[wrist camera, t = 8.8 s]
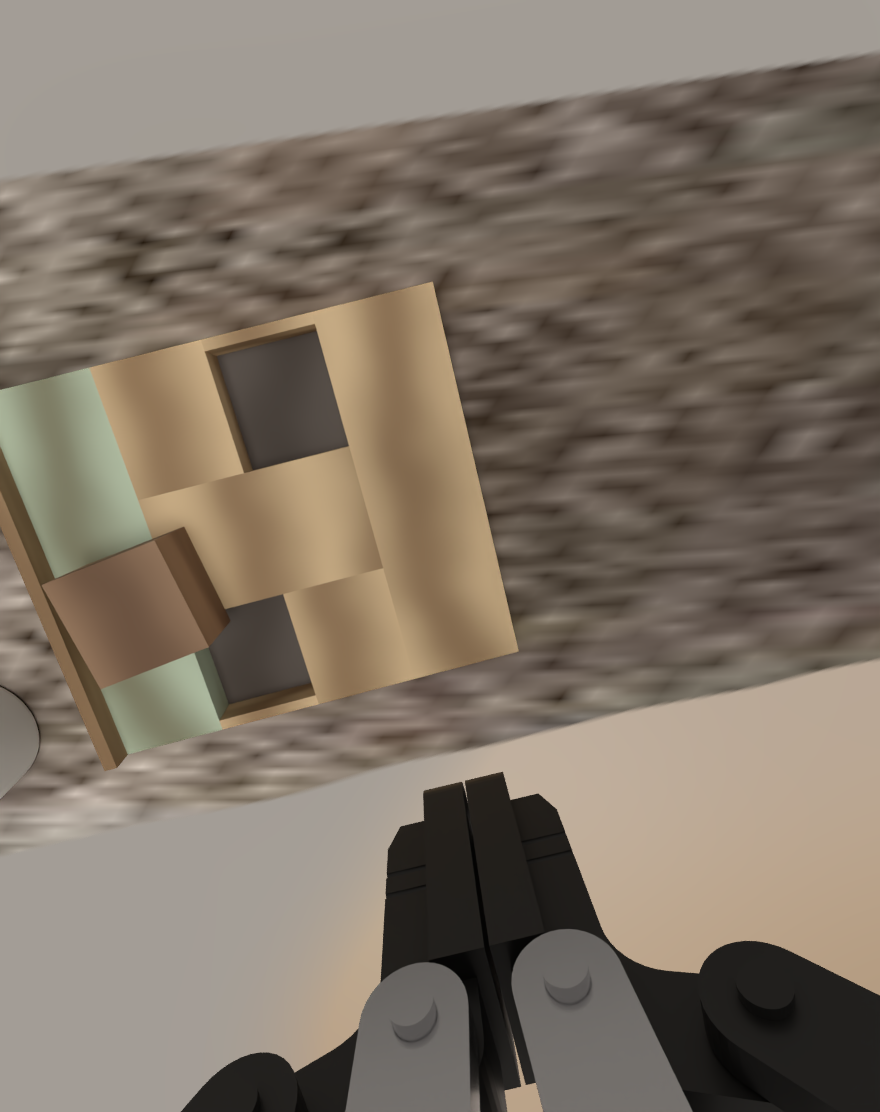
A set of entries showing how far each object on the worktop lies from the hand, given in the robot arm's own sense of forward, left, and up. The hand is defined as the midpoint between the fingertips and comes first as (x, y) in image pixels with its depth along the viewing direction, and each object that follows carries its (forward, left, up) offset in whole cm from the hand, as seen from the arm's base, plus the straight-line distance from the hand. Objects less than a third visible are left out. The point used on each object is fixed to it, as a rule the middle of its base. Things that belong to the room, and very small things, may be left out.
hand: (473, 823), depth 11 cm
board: (+7, -4, -21) cm, 22 cm away
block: (+12, -2, -19) cm, 23 cm away
